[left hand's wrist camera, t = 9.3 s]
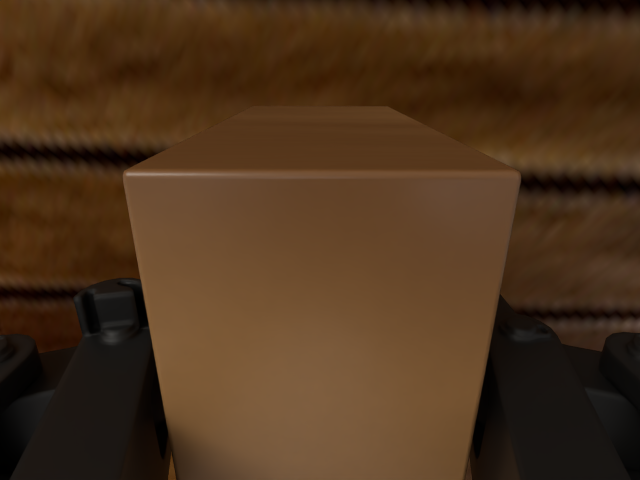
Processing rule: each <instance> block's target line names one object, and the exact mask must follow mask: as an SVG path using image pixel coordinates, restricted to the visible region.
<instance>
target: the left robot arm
mask: <svg viewBox="0 0 640 480" xmlns="http://www.w3.org/2000/svg"><path fill="white" fill-rule="evenodd" d="M73 299H74V303H75V307H76V311H77V315H78V319H79V323H80V327H81V330H82V334H83V337H82V339H81V341H80V343H79V345H78V346H75V347H71V348H66V349H61V350H56V351H50V352H45V353H38V349H37V346H36V343H35V340H34V339H32V338H31V337H30V336H28V335H21V334H11V335H0V480H168V474H169V465H170V457H171V445H170V440H169V434H168V429H167V423H166V418H165V412H164V406H163V401H162V395H161V390H160V384H159V378H158V373H157V367H156V362H155V356H154V350H153V345H152V339H151V334H150V328H149V322H148V317H147V311H146V306H145V300H144V294H143V289H142V283H141V280H140V279H135V278H118V279H112V280H106V281H103V282H100V283H97V284H94V285H91V286H89V287H87V288H85V289H83V290H82V291H80V292H79V293H78V294H77V295H76V296H75V297H74V298H73ZM469 456H470V464H471V473H472V480H640V333H629V332H621V333H614V334H611V335H610V336H609V337H607V338H606V341H605V344H604V347H603V351H602V352H600V351H595V350H589V349H584V348H579V347H573V346H568V345H564V344H561V342H560V340H559V338H558V336H557V335H556V334H555V332H554V331H553V330H552V329H551V328H550V327H549V326H547V325H545V324H544V323H542V322H541V321H539V320H536V319H534V318H531V317H528V316H525V315H520V314H516V313H515V312H514V311H513V309H512V308H511V307H510V306H509V304H508V303H507V302H506V301H505V300H504V298H503V297H502V296H501V295H499V300H498V305H497V311H496V316H495V321H494V327H493V332H492V337H491V343H490V348H489V353H488V359H487V364H486V369H485V375H484V380H483V386H482V391H481V396H480V402H479V407H478V412H477V418H476V423H475V428H474V434H473V439H472V444H471V450H470V455H469Z"/></svg>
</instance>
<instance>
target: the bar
mask: <svg viewBox="0 0 640 480" xmlns="http://www.w3.org/2000/svg"><path fill="white" fill-rule="evenodd" d="M123 183H124V188H125V194H126V199H127V205H128V211H129V216H130V222H131V227H132V233H133V238H134V244H135V250H136V255H137V261H138V266H139V272H140V278H141V283H142V289H143V294H144V300H145V306H146V311H147V317H148V322H149V328H150V334H151V339H152V345H153V350H154V356H155V362H156V367H157V373H158V378H159V384H160V390H161V395H162V401H163V406H164V412H165V418H166V423H167V429H168V434H169V440H170V445H171V451H172V457H173V462H174V468H175V473H176V479H177V480H465V476H466V471H467V466H468V460H469V455H470V450H471V444H472V439H473V434H474V428H475V423H476V418H477V412H478V407H479V402H480V396H481V391H482V386H483V380H484V375H485V369H486V364H487V359H488V353H489V348H490V343H491V337H492V332H493V327H494V321H495V316H496V311H497V305H498V300H499V295H500V289H501V284H502V279H503V273H504V268H505V263H506V257H507V252H508V247H509V241H510V236H511V231H512V225H513V220H514V215H515V209H516V204H517V199H518V193H519V188H520V183H521V174H520V172H519V171H518V170H515V169H513V168H511V167H509V166H507V165H505V164H503V163H501V162H499V161H497V160H495V159H493V158H491V157H489V156H487V155H485V154H483V153H481V152H479V151H477V150H475V149H473V148H471V147H469V146H467V145H465V144H463V143H461V142H459V141H457V140H454V139H452V138H450V137H448V136H446V135H444V134H442V133H440V132H438V131H436V130H434V129H432V128H430V127H428V126H426V125H424V124H422V123H420V122H418V121H416V120H414V119H412V118H410V117H408V116H406V115H404V114H402V113H400V112H398V111H396V110H393V109H391V108H389V107H387V106H252V107H250V108H248V109H246V110H244V111H242V112H240V113H238V114H236V115H234V116H232V117H230V118H228V119H226V120H224V121H222V122H220V123H218V124H216V125H214V126H212V127H210V128H208V129H206V130H204V131H202V132H200V133H198V134H196V135H194V136H192V137H191V138H189V139H187V140H185V141H183V142H181V143H179V144H177V145H175V146H173V147H171V148H169V149H167V150H165V151H163V152H161V153H159V154H157V155H155V156H153V157H151V158H149V159H147V160H145V161H143V162H141V163H139V164H137V165H135V166H133V167H131V168H129V169H127V170H125V171H124V173H123Z"/></svg>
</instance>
